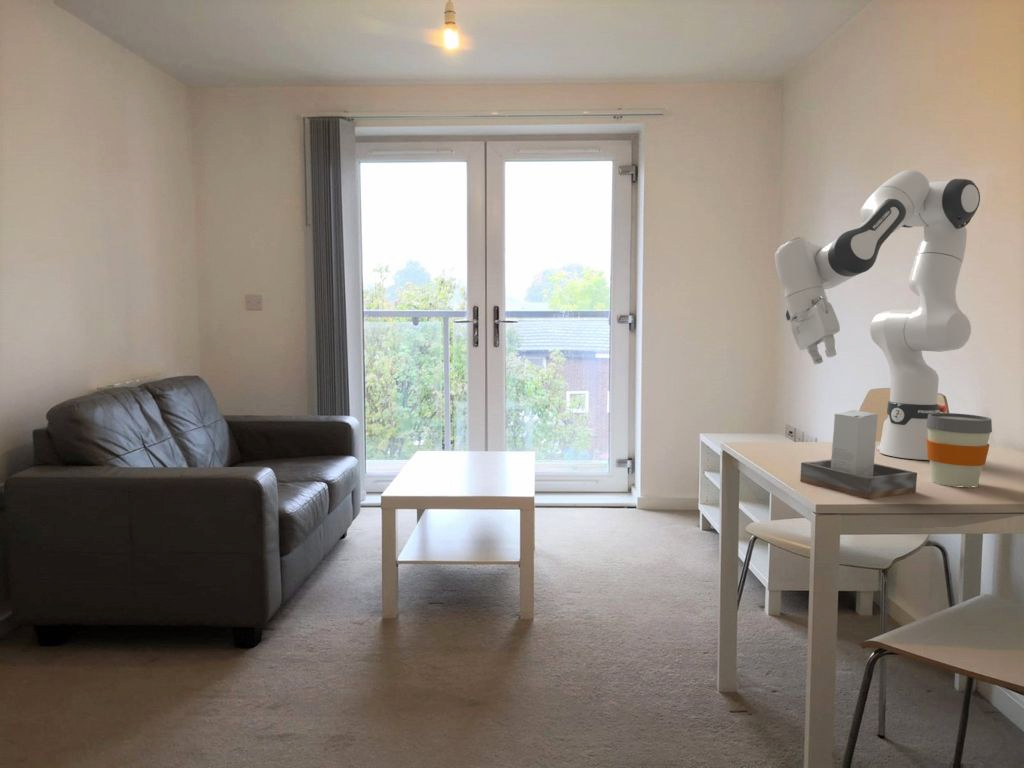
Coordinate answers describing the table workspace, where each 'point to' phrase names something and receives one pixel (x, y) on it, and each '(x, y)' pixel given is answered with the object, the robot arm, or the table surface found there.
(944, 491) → the table surface
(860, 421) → the skincare box
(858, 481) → the open storage bin
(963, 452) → the reusable coffee cup
